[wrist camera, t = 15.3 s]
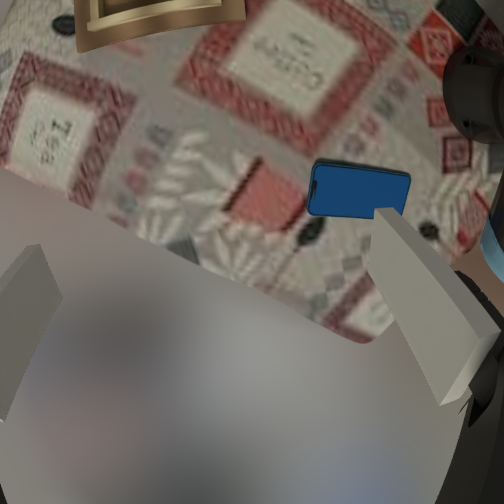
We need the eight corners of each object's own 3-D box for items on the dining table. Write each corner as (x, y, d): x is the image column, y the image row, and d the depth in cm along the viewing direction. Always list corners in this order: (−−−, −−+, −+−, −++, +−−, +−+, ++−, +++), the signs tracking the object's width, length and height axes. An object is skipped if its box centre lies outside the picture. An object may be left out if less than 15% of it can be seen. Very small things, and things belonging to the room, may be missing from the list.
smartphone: (400, 221, 44) (306, 215, 42) (397, 218, 45) (304, 212, 43) (412, 175, 40) (314, 162, 38) (409, 173, 41) (312, 160, 39)
